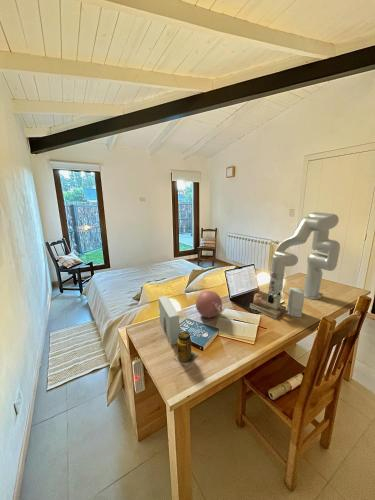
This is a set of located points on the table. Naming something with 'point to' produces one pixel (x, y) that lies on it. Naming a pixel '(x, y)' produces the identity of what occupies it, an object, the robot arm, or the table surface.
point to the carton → (274, 302)
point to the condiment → (184, 349)
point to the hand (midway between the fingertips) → (273, 300)
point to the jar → (257, 299)
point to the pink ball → (209, 304)
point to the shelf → (268, 309)
